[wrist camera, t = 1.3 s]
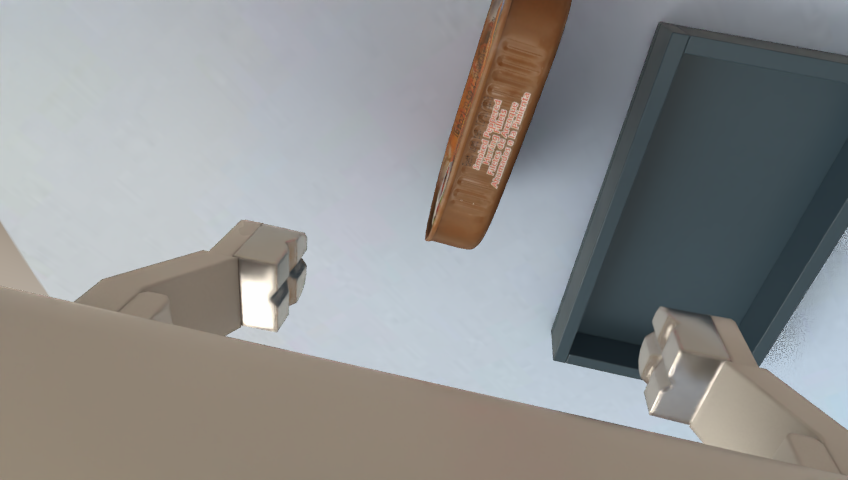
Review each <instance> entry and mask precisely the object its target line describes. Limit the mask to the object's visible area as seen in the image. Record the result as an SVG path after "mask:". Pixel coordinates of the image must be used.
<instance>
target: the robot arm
mask: <svg viewBox="0 0 848 480" xmlns="http://www.w3.org/2000/svg"><path fill="white" fill-rule="evenodd" d="M306 250H307V237H306V235H305V233H303V232H299V231H294V230H290V229H286V228H281V227H277V226H272V225H268V224H263V223H259V222H254V221H249V220H241V221H240V222H239V223H238V224H237V225H236V226H235V227H233V228H232V229H231V230H230V231H229V232H228V233H227V234H226V235H225V236H224V237H223V238H222V239H221V240H220V241H219V242H218V243H217V244H216V245H215V246H214V247H213V248H212V249H211V250H210V251H204V250H202V251H198V252H195V253H191V254H188V255H185V256H181V257H178V258H174V259H171V260H167V261H164V262H160V263H157V264H153V265H150V266H147V267H143V268H140V269H136V270H133V271H129V272H126V273H122V274H119V275H115V276H112V277H109V278H105V279H102V280H101V281H99V282H98V283H97V284H96V285H94V286H93V287H92V288H91V289H89V290H88V291H87V292H86V293H84V294H83V295H82V296H81V297H79V298H78V299H77V300H76V301H74V302H71V301H66V300H62V299H57V298H53V297H48V296H44V295H39V294H35V293H30V292H26V291H22V290H17V289H12V288H8V287H4V286H0V480H848V430H847V429H845V428H844V427H843V426H841V425H840V424H839V423H837V422H836V421H835V420H833V419H832V418H831V417H829V416H828V415H827V414H825V413H824V412H823V411H821V410H820V409H819V408H817V407H816V406H815V405H813V404H812V403H811V402H809V401H808V400H807V399H805V398H804V397H803V396H801V395H800V394H799V393H797V392H796V391H795V390H793V389H792V388H791V387H789V386H788V385H787V384H785V383H784V382H783V381H781V380H780V379H779V378H778V377H776V376H775V375H774V374H772V373H771V372H770V371H768V370H767V369H763V368H759V366H758V365H757V363H756V361H755V359H754V357H753V355H752V353H751V351H750V349H749V347H748V345H747V343H746V342H745V340H744V338H743V336H742V334H741V332H740V330H739V328H738V326H737V324H736V322H735V321H733V320H732V319H730V318H724V317H718V316H712V315H706V314H700V313H694V312H689V311H683V310H678V309H672V308H667V307H661V306H660V307H659V309H658V310H657V311H656V313H655V315H654V317H653V319H652V323H653V327H654V330H655V331H653V332H652V333H650V334H649V335H647V336H645V338H644V341H643V343H642V346H641V348H640V354H639V360H638V363H639V373H640V377H641V378H642V379H643V380H644V381H645V382H646V383H647V386H646V389H645V391H644V395H645V399H646V403H647V407H648V411H649V415H652V416H656V417H660V418H664V419H668V420H672V421H676V422H680V423H684V424H688V425H690V428H691V429H692V430H693V431H694V433H695V434H696V435H697V436H698V437H699V439H700V440H701V441H702V442H703V443H704V444H703V443H699V442H694V441H690V440H685V439H681V438H676V437H672V436H667V435H663V434H658V433H654V432H650V431H645V430H641V429H636V428H632V427H627V426H623V425H618V424H614V423H609V422H605V421H601V420H596V419H592V418H587V417H583V416H578V415H574V414H569V413H565V412H560V411H556V410H551V409H547V408H543V407H538V406H534V405H529V404H525V403H520V402H516V401H511V400H507V399H502V398H498V397H494V396H489V395H485V394H480V393H476V392H471V391H467V390H462V389H458V388H453V387H449V386H445V385H440V384H436V383H431V382H427V381H422V380H418V379H413V378H409V377H404V376H400V375H396V374H391V373H387V372H382V371H378V370H373V369H369V368H364V367H360V366H355V365H351V364H347V363H342V362H338V361H333V360H329V359H324V358H320V357H315V356H311V355H306V354H302V353H298V352H293V351H289V350H284V349H280V348H275V347H271V346H266V345H262V344H258V343H253V342H249V341H244V340H240V339H235V338H231V337H226V335H228V334H229V333H231V332H233V331H235V330H237V329H238V328H240V327H241V325H242V326H248V327H253V328H258V329H263V330H268V331H273V332H278V330H279V329H280V327H281V326H282V324H283V322H284V321H285V319H286V318H287V316H288V315H289V306H290V305H292V304H295V303H296V302H297V301H298V299H299V297H300V296H301V293H302V290H303V288H304V285H305V279H306V268H307V265H306V264H305V262H304V261H303V259H302V258H301V257H302V256H303V254H304V253H305V252H306Z"/></svg>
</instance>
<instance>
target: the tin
mask: <svg viewBox="0 0 848 480" xmlns="http://www.w3.org/2000/svg"><path fill="white" fill-rule="evenodd" d="M571 2H572V0H492V2H491V6H490V9H489V11H488V15H487V18H486V21H485V24H484V27H483V31H482V34H481V37H480V40H479V44H478V47H477V50H476V54H475V57H474V60H473V63H472V66H471V69H470V73H469V76H468V79H467V83H466V86H465V89H464V92H463V95H462V98H461V102H460V105H459V108H458V111H457V114H456V118H455V121H454V124H453V128H452V131H451V134H450V137H449V141H448V144H447V148H446V151H445V155H444V158H443V162H442V165H441V169H440V172H439V176H438V180H437V184H436V188H435V192H434V197H433V201H432V205H431V210H430V215H429V219H428V223H427V229H426V235H425V236H426V237H425V240H426V241H436V242H439V243H443V244H447V245H450V246H454V247H458V248H463V249H473V248H475V247H476V246H477V245H478V244H479V243H480V242H481V240H482V239H483V237H484V236H485V234H486V232H487V230H488V228H489V225H490V223H491V221H492V219H493V217H494V214H495V212H496V209H497V207H498V204H499V202H500V199H501V197H502V194H503V192H504V189H505V187H506V184H507V182H508V179H509V177H510V174H511V172H512V169H513V166H514V164H515V161H516V159H517V156H518V154H519V151H520V148H521V146H522V143H523V141H524V138H525V135H526V133H527V130H528V128H529V125H530V122H531V120H532V117H533V114H534V112H535V109H536V106H537V103H538V101H539V98H540V96H541V93H542V90H543V88H544V85H545V82H546V79H547V77H548V74H549V71H550V69H551V66H552V63H553V61H554V58H555V55H556V52H557V49H558V46H559V43H560V40H561V37H562V34H563V31H564V28H565V24H566V21H567V18H568V14H569V11H570V6H571Z"/></svg>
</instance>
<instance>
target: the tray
mask: <svg viewBox="0 0 848 480" xmlns="http://www.w3.org/2000/svg"><path fill="white" fill-rule="evenodd" d="M847 227H848V56H844V55H839V54H833V53H828V52H822V51H817V50H811V49H806V48H800V47H795V46H789V45H784V44H778V43H773V42H767V41H762V40H756V39H751V38H745V37H740V36H734V35H729V34H723V33H718V32H712V31H707V30H701V29H696V28H690V27H685V26H679V25H674V24H668V23H663V22H659V24H658V26H657V29H656V32H655V35H654V38H653V41H652V44H651V46H650V49H649V52H648V55H647V58H646V61H645V64H644V67H643V69H642V72H641V75H640V78H639V81H638V84H637V87H636V89H635V92H634V95H633V98H632V101H631V104H630V107H629V110H628V112H627V115H626V118H625V121H624V124H623V127H622V130H621V132H620V135H619V138H618V141H617V144H616V147H615V150H614V152H613V155H612V158H611V161H610V164H609V167H608V170H607V173H606V175H605V178H604V181H603V184H602V187H601V190H600V193H599V195H598V198H597V201H596V204H595V207H594V210H593V213H592V216H591V218H590V221H589V224H588V227H587V230H586V233H585V236H584V238H583V241H582V244H581V247H580V250H579V253H578V256H577V258H576V261H575V264H574V267H573V270H572V273H571V276H570V279H569V281H568V284H567V287H566V290H565V293H564V296H563V299H562V301H561V304H560V307H559V310H558V313H557V316H556V319H555V322H554V324H553V327H552V330H551V334H552V349H553V360H554V361H559V362H563V363H565V362H566V363H568V364H573V365H577V366H582V367H586V368H591V369H595V370H600V371H604V372H609V373H613V374H618V375H622V376H627V377H631V378H636V379H640V380H643V379H642V378H641V377H640V373H639V363H638V360H639V354H640V348H641V346H642V343H643V341H644V338H645V336H647V335H649V334H650V333H652V332H653V331H655V330H654V327H653V323H652V319H653V317H654V315H655V313H656V311H657V310H658V309H659V307H660V306H661V307H667V308H672V309H678V310H683V311H689V312H694V313H700V314H706V315H712V316H718V317H724V318H730V319H732V320H733V321H735V322H736V324H737V326H738V328H739V330H740V332H741V334H742V336H743V338H744V340H745V342H746V343H747V345H748V347H749V349H750V351H751V353H752V355H753V357H754V359H755V361H756V363H757V365H758V366H760V365H761V363H762V362H763V360H764V358H765V357H766V355H767V354H768V352H769V350H770V349H771V347H772V346H773V344H774V343H775V341H776V339H777V338H778V336H779V335H780V333H781V331H782V330H783V328H784V327H785V325H786V324H787V322H788V320H789V319H790V317H791V316H792V314H793V312H794V311H795V309H796V308H797V306H798V305H799V303H800V301H801V300H802V298H803V297H804V295H805V293H806V292H807V290H808V289H809V287H810V286H811V284H812V282H813V281H814V279H815V278H816V276H817V275H818V273H819V271H820V270H821V268H822V267H823V265H824V263H825V262H826V260H827V259H828V257H829V256H830V254H831V252H832V251H833V249H834V248H835V246H836V244H837V243H838V241H839V240H840V238H841V237H842V235H843V233H844V232H845V230H846V229H847Z"/></svg>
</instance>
